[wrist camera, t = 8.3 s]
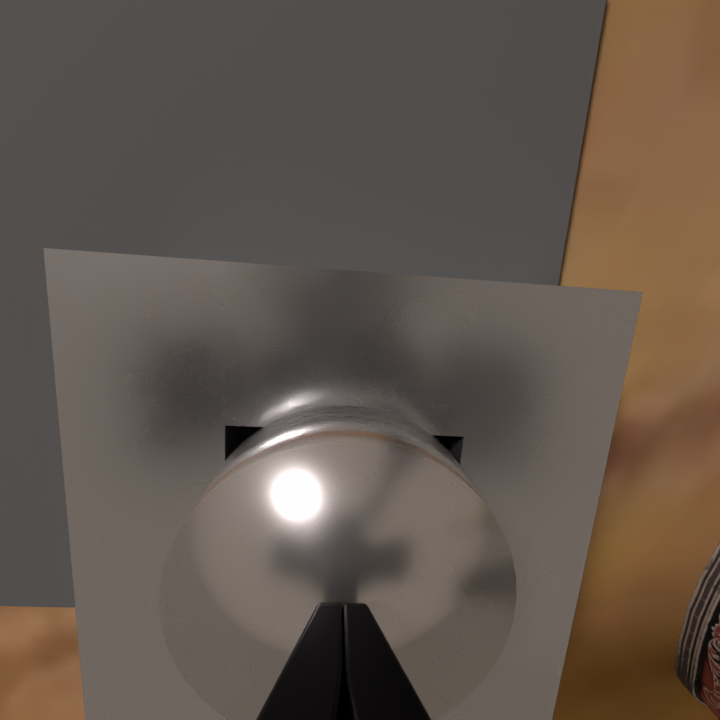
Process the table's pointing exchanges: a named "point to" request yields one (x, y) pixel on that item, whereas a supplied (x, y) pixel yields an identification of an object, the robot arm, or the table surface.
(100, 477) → the hitch block
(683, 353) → the table surface
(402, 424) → the silver door knob
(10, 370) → the mat
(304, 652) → the robot arm
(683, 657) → the lighter
